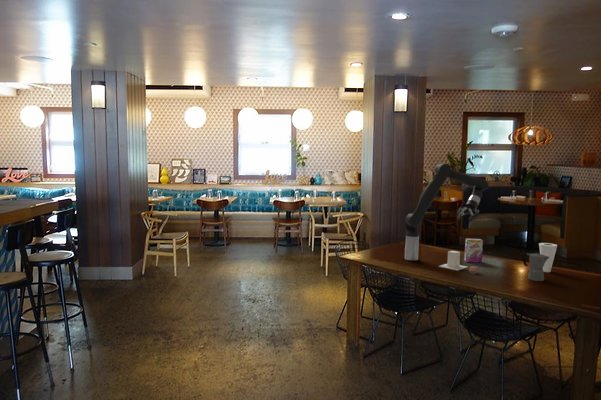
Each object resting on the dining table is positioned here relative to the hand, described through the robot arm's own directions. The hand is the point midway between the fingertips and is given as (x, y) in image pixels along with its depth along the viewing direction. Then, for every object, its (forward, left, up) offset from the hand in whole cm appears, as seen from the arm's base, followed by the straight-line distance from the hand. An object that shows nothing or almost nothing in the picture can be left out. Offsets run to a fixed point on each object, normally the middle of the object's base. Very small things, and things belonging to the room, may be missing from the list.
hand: (464, 220), depth 313 cm
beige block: (-8, -12, -30) cm, 33 cm away
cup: (+51, -13, -31) cm, 61 cm away
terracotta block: (+2, -26, -31) cm, 40 cm away
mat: (-8, -12, -31) cm, 34 cm away
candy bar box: (+9, +6, -31) cm, 33 cm away
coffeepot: (+36, -34, -31) cm, 58 cm away
